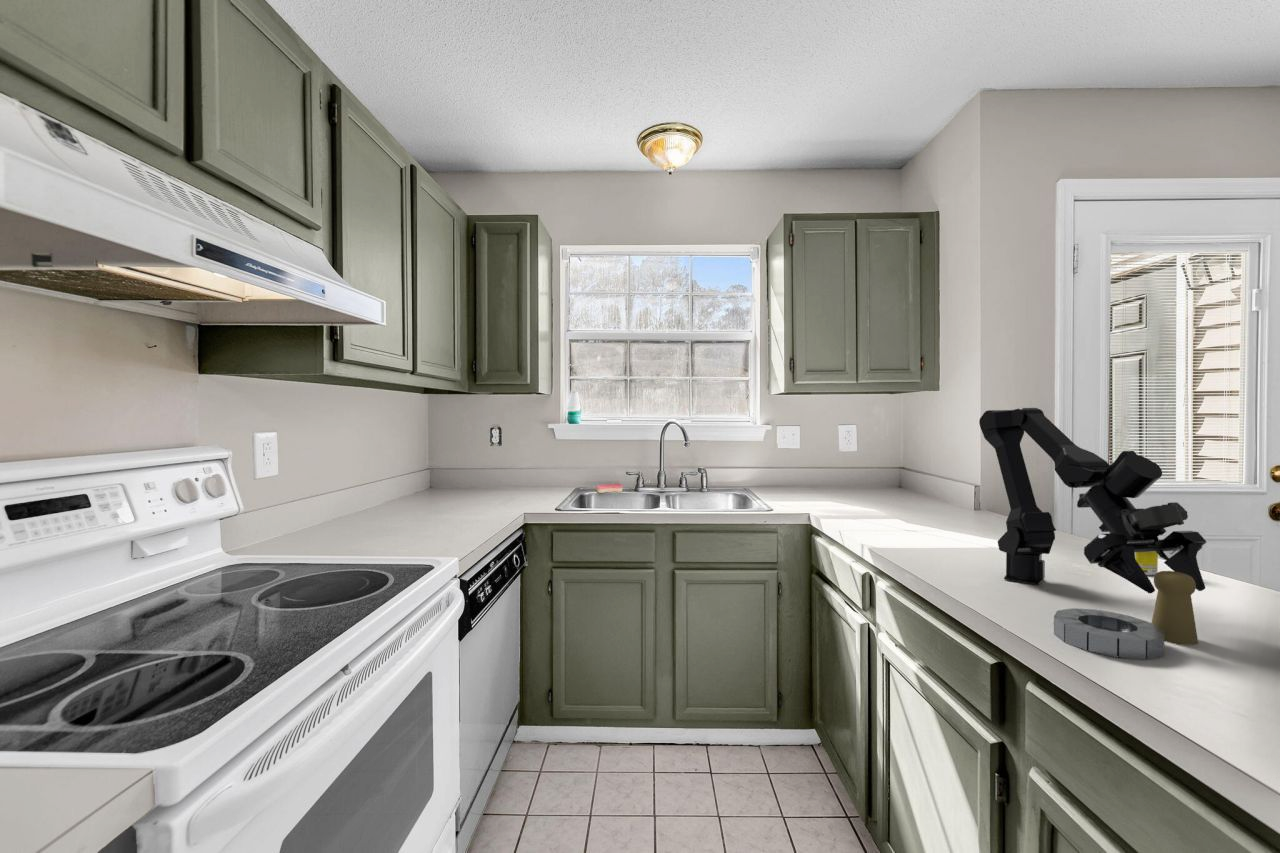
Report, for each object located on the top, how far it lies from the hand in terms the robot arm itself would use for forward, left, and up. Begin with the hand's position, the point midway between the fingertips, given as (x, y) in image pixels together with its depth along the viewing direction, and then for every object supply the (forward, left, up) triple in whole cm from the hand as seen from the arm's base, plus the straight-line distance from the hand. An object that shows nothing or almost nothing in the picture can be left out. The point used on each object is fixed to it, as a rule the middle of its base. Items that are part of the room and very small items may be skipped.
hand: (1177, 591), depth 97 cm
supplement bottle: (-6, +46, -8) cm, 48 cm away
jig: (-8, -9, -8) cm, 14 cm away
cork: (0, 0, -8) cm, 8 cm away
